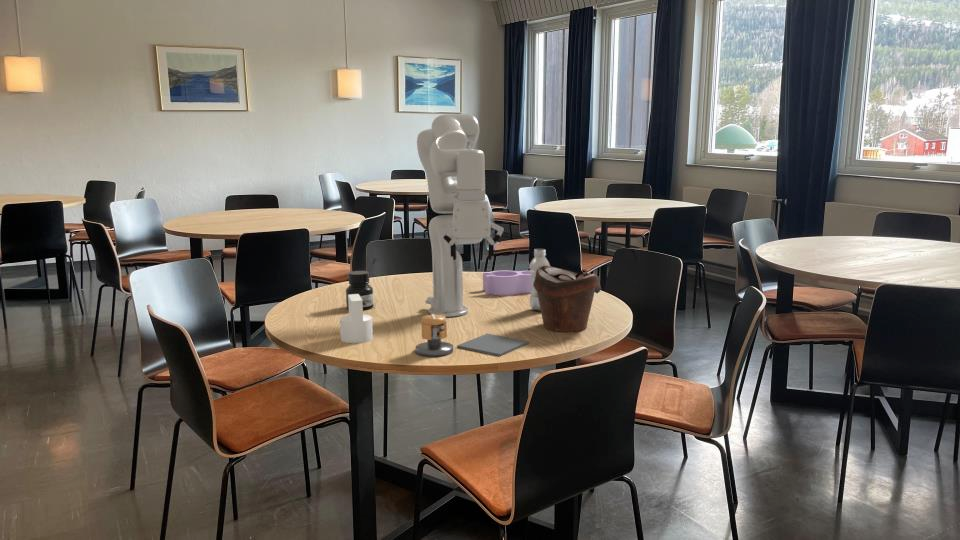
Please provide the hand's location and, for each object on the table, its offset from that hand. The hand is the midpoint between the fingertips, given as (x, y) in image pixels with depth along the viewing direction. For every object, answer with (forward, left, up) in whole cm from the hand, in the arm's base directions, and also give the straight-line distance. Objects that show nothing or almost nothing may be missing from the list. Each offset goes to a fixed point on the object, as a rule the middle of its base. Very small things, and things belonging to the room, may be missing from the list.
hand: (472, 259), depth 193 cm
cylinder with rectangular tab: (-29, -16, -23) cm, 41 cm away
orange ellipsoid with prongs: (-3, -13, -19) cm, 24 cm away
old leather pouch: (+14, +28, -23) cm, 39 cm away
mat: (+7, 0, -23) cm, 24 cm away
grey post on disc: (-3, -13, -23) cm, 27 cm away
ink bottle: (-55, +11, -23) cm, 61 cm away
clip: (-27, +59, -24) cm, 69 cm away
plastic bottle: (-3, +41, -23) cm, 47 cm away
